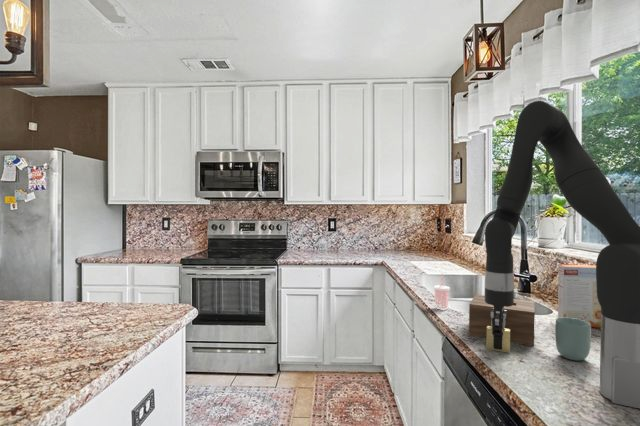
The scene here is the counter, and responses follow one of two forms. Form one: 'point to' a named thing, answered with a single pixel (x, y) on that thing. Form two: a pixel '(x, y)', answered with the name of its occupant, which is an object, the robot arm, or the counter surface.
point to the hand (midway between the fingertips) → (498, 347)
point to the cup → (573, 338)
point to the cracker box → (578, 293)
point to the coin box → (516, 319)
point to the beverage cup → (441, 295)
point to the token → (504, 340)
